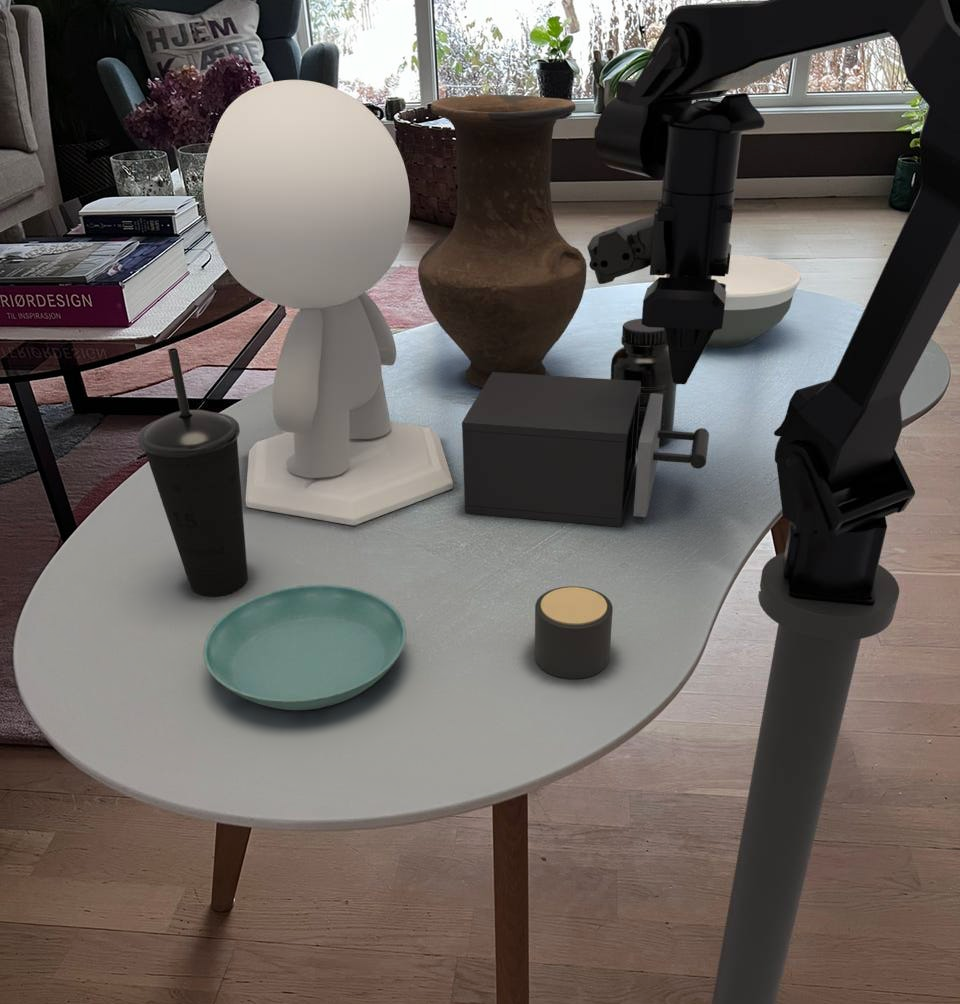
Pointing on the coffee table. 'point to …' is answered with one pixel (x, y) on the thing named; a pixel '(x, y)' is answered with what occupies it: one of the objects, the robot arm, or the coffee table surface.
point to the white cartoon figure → (321, 296)
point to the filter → (573, 632)
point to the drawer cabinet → (550, 448)
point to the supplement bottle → (647, 369)
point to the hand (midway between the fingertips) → (680, 377)
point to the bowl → (753, 298)
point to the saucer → (305, 646)
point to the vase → (503, 239)
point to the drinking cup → (200, 490)
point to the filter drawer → (650, 453)
